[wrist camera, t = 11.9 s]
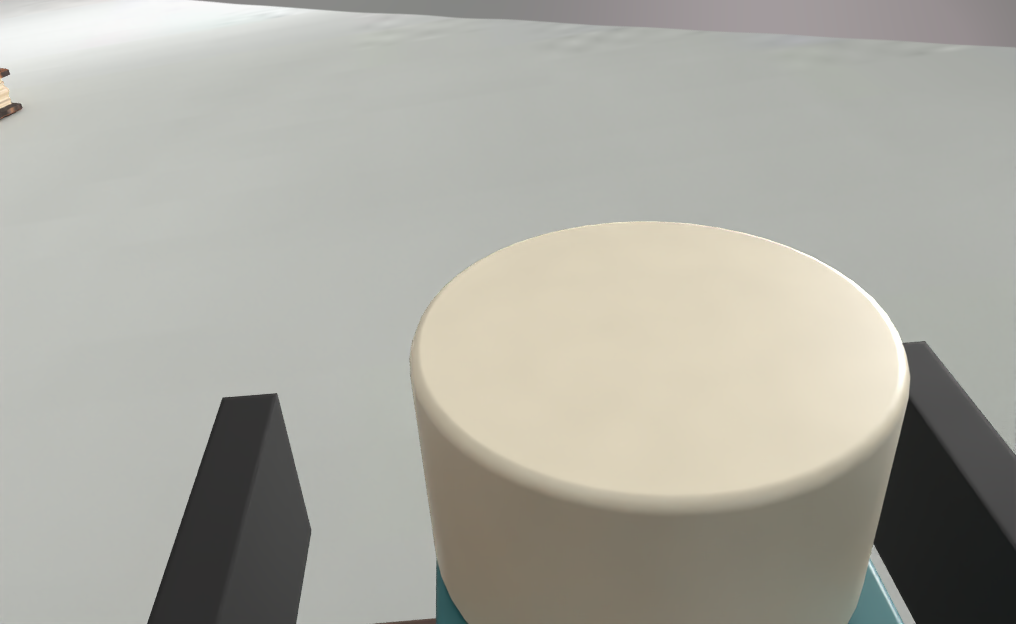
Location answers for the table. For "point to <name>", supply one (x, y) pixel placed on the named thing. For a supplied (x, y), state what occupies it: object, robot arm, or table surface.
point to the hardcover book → (6, 97)
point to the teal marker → (657, 432)
